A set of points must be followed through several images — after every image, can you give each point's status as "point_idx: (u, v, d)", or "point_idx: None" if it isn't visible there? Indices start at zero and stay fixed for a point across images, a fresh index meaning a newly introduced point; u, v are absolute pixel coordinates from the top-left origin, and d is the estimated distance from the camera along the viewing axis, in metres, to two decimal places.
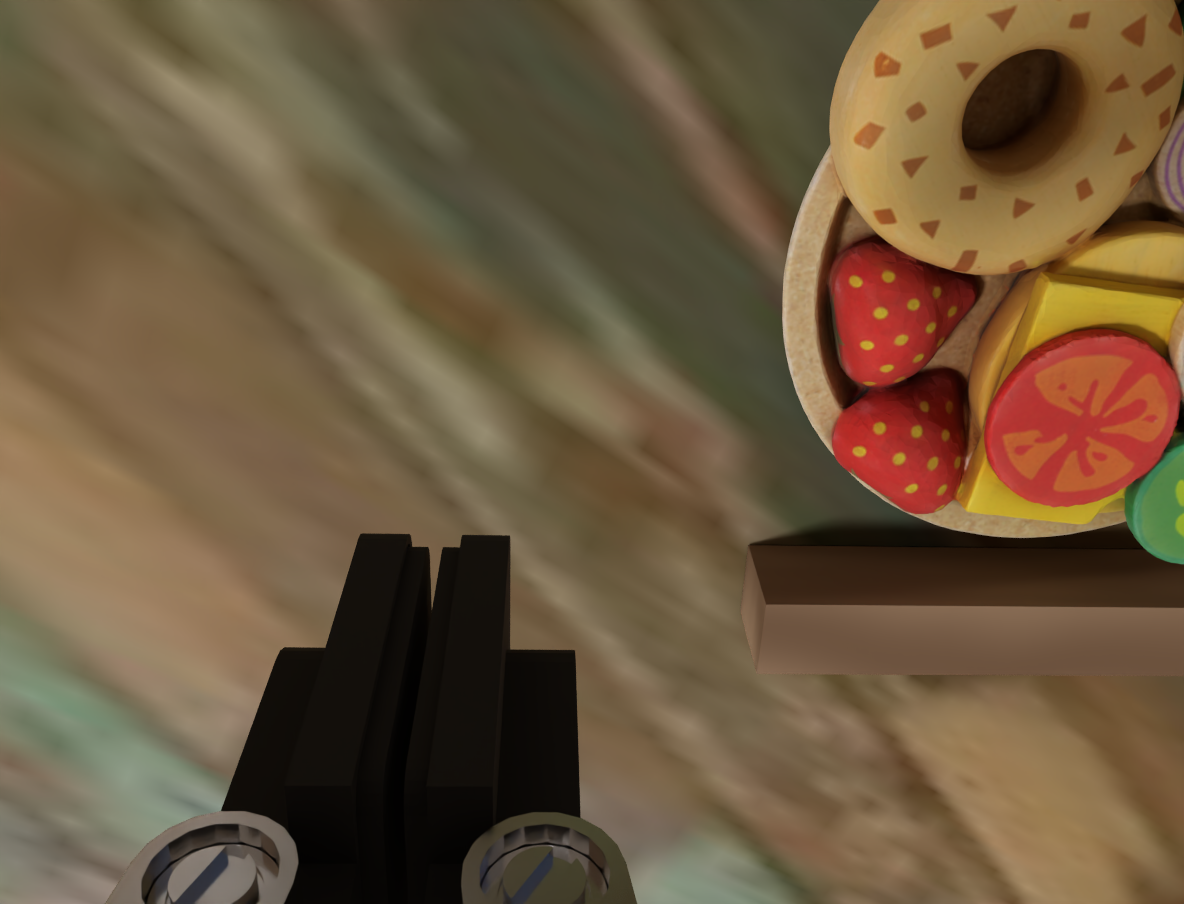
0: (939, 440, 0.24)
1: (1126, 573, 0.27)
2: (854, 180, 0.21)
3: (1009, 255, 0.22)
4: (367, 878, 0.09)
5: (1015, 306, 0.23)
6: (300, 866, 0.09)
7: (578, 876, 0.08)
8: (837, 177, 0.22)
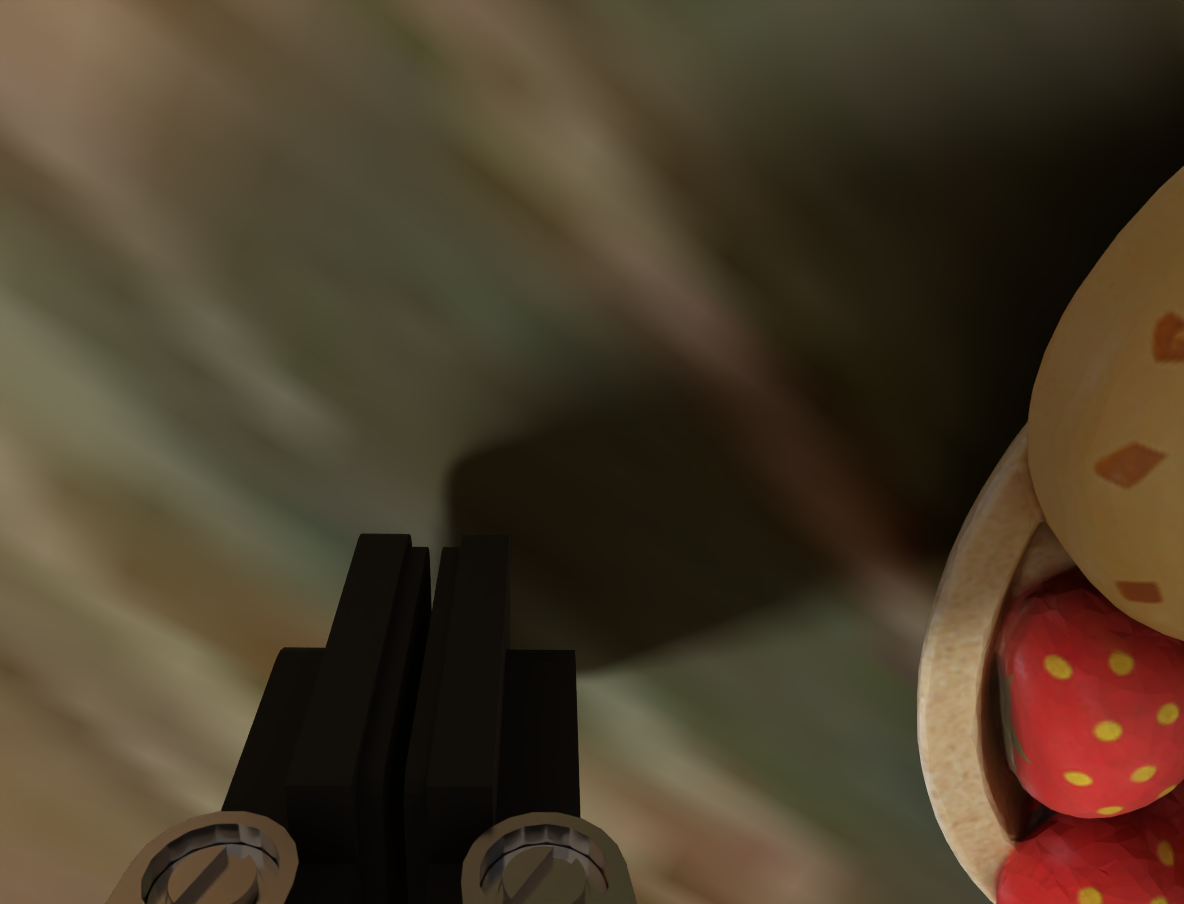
0: None
1: None
2: (1085, 531, 0.11)
3: None
4: (367, 878, 0.09)
5: None
6: (300, 866, 0.09)
7: (578, 876, 0.08)
8: (1031, 493, 0.12)
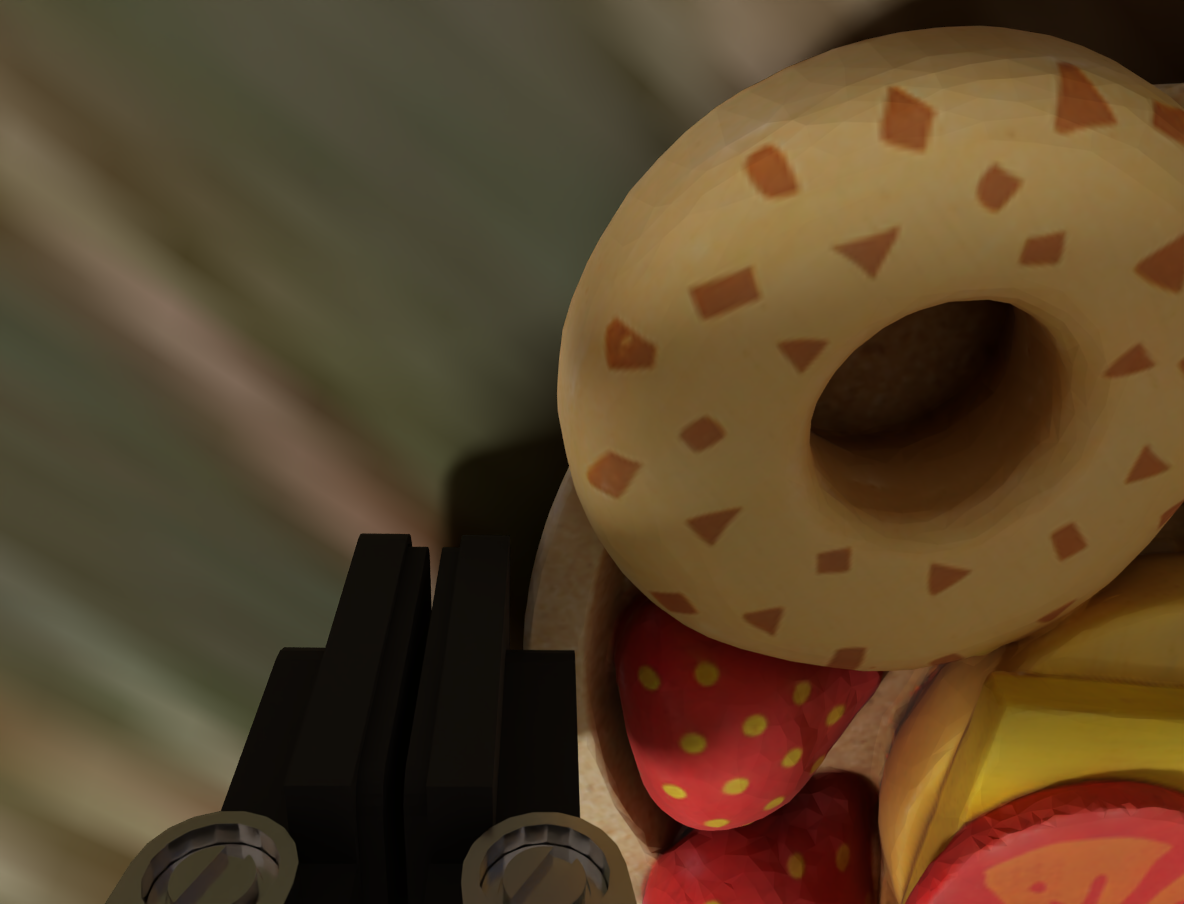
0: None
1: None
2: (604, 541, 0.11)
3: (928, 649, 0.12)
4: (367, 878, 0.09)
5: (948, 712, 0.13)
6: (300, 866, 0.09)
7: (578, 876, 0.08)
8: None
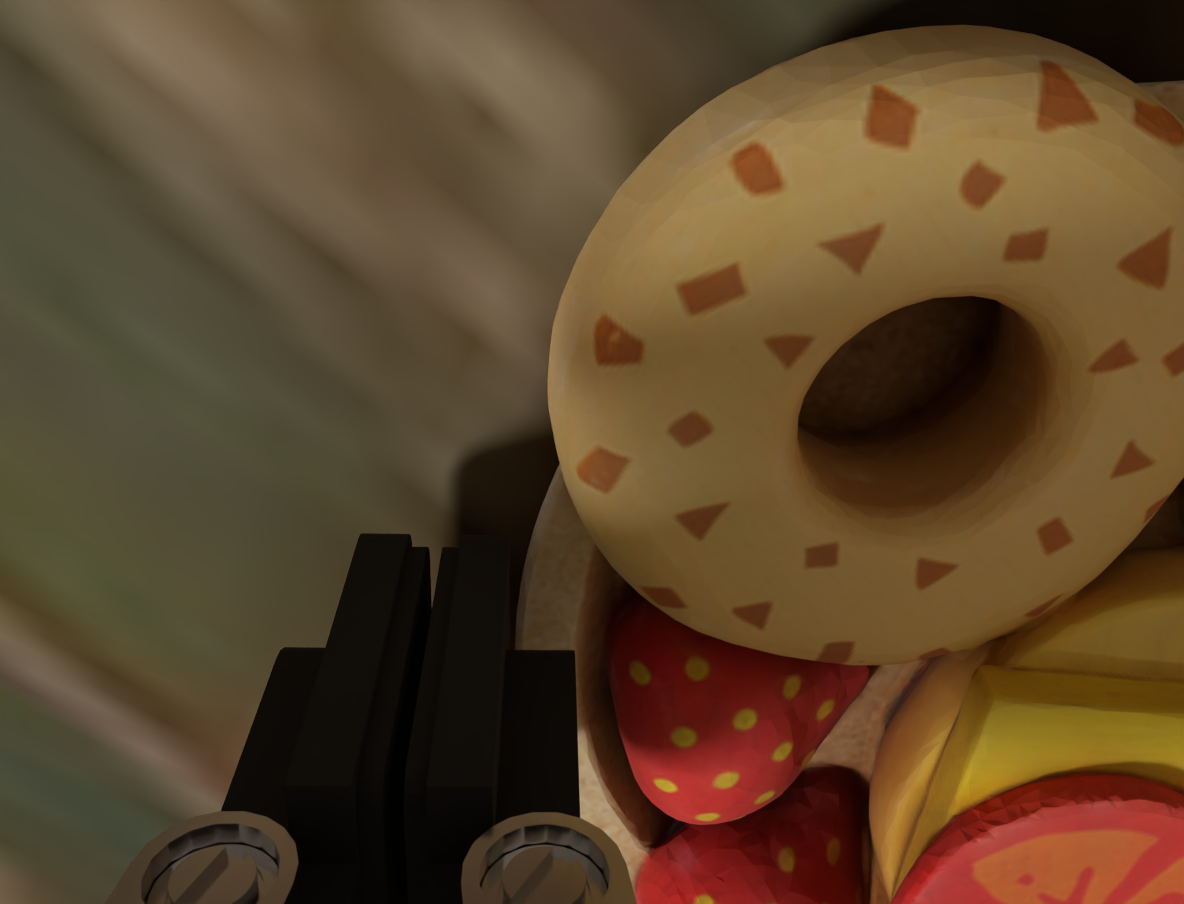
0: None
1: None
2: (594, 535, 0.11)
3: (916, 644, 0.12)
4: (368, 878, 0.09)
5: (938, 707, 0.13)
6: (301, 866, 0.09)
7: (578, 876, 0.08)
8: None
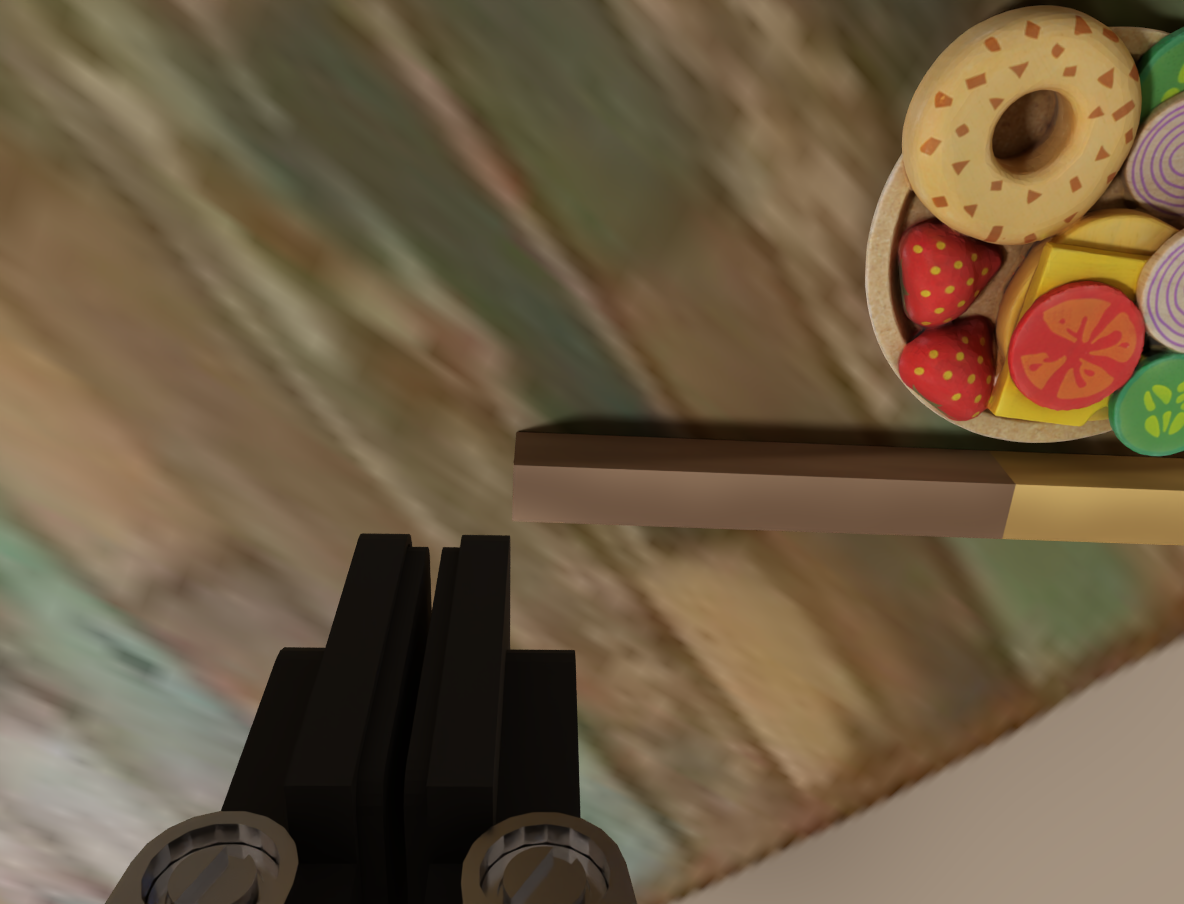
0: (975, 363, 0.34)
1: (793, 456, 0.36)
2: (919, 176, 0.32)
3: (1024, 230, 0.33)
4: (367, 878, 0.09)
5: (1029, 267, 0.34)
6: (300, 866, 0.09)
7: (578, 876, 0.08)
8: (906, 176, 0.33)
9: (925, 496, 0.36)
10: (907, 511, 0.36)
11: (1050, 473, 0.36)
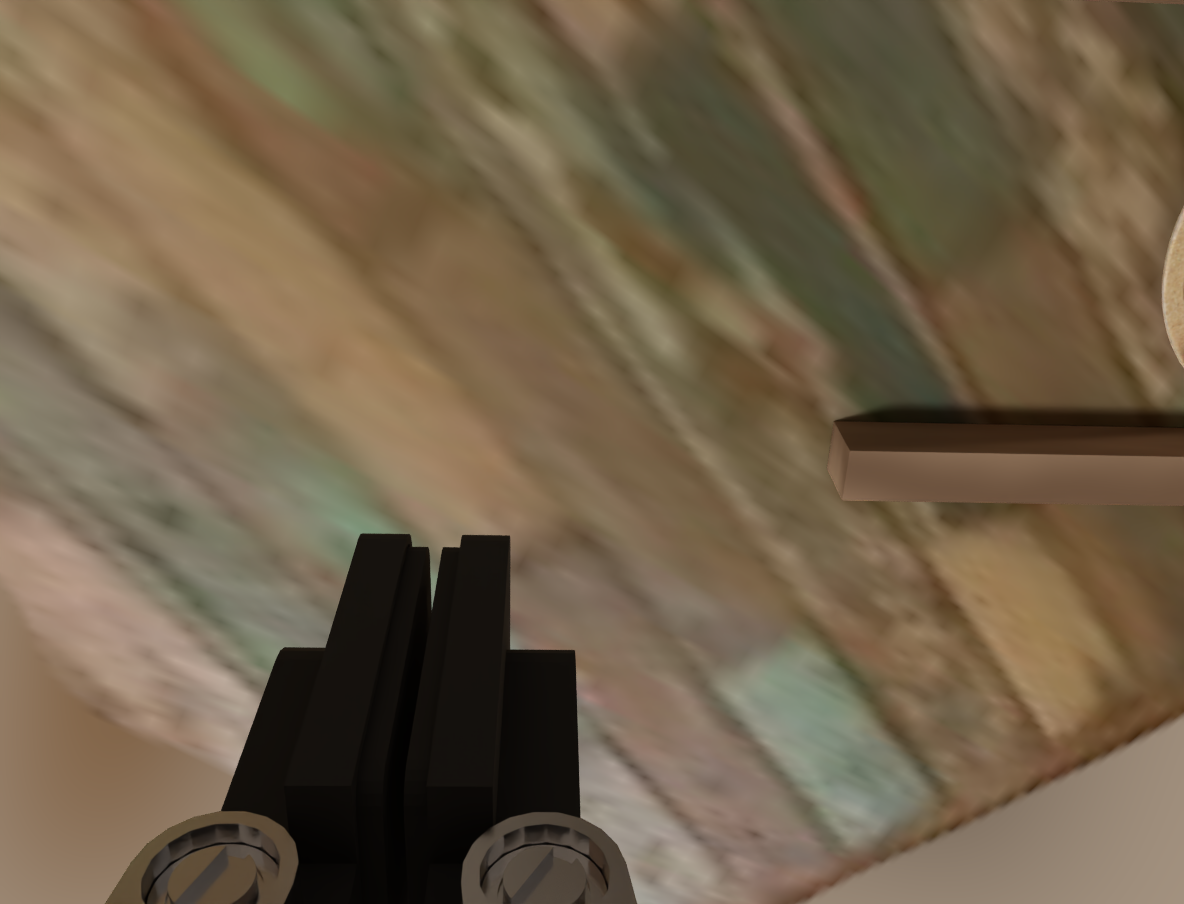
0: None
1: (1084, 438, 0.41)
2: None
3: None
4: (367, 878, 0.09)
5: None
6: (300, 866, 0.09)
7: (578, 876, 0.08)
8: None
9: None
10: None
11: None
